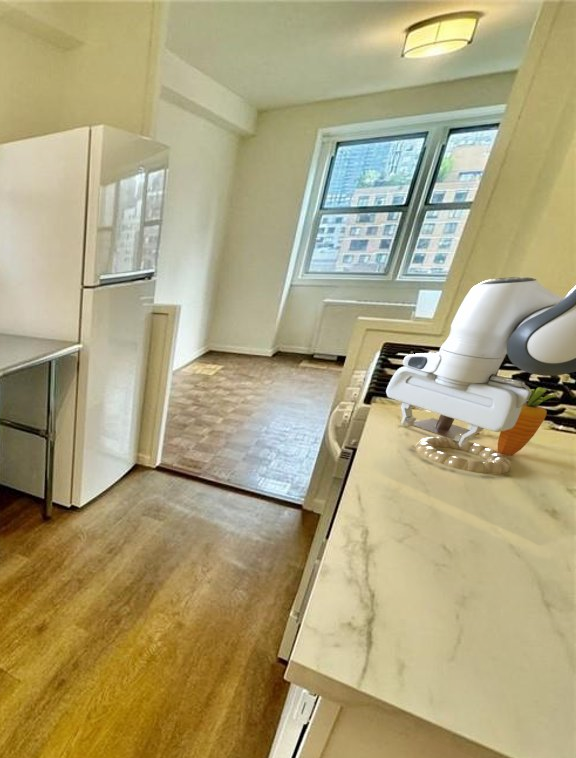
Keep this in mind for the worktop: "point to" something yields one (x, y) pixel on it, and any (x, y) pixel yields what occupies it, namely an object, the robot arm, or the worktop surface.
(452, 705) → the worktop surface
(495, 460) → the bracelet
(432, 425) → the brown peg stand
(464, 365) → the robot arm
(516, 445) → the carrot
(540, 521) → the worktop surface
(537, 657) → the worktop surface
